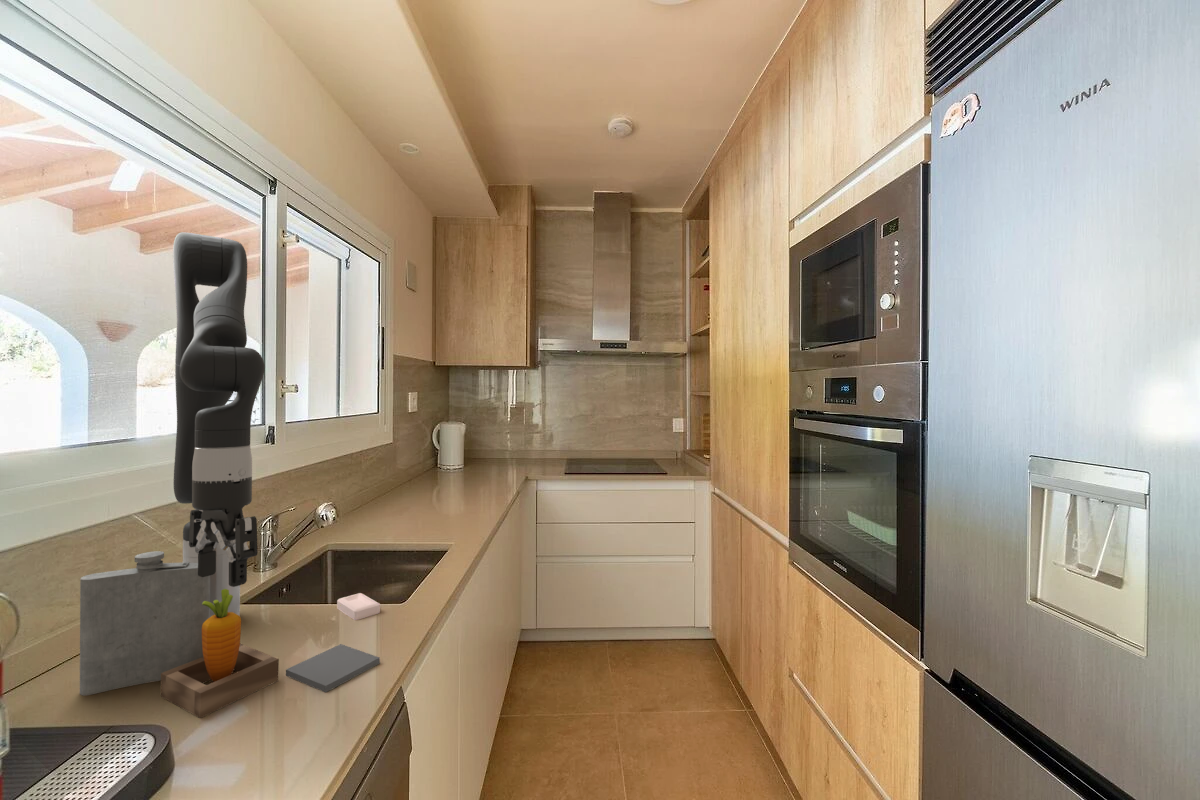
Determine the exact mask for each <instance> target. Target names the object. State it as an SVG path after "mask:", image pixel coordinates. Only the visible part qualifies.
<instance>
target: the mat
mask: <svg viewBox="0 0 1200 800" xmlns="http://www.w3.org/2000/svg"><path fill="white" fill-rule="evenodd" d="M380 663H381V659H380V657H379V656H377V655H374V654H371V653H368V652H365V651H363V650H360V649H357V648H353V647H351V646H348V645H345V644H342V643H340V644H337V645H336V646H334V647H331V648H328V649H327V650H325V651H323V652H320V653H318V654H316V655H313V656H312V657H309V658H307V659H305V660H303V661H301V662H299V663H297V664H294V665H293V666H290V667H288V668H286V669H285V676H286V677H289V678H291V679H293V680H295V681H297V682H300V683H302V684H305V685H308V686H310V687H312V688H314V689H317V690H319V691H321V692H324V693H327V692H330V690H333V689H335V688H336V687H339V686H340V685H342V684H344V683H346V682H348V681H349V680H351V679H353V678H355V677H357V676H359V675H361V674H363V673H364V672H366V671H368V670H370V669H372V668H374V667H375V666H376V667H377V666H378V665H379V664H380Z"/></svg>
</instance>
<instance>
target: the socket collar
mask: <svg viewBox="0 0 1200 800" xmlns="http://www.w3.org/2000/svg"><path fill="white" fill-rule="evenodd" d="M233 671H236V672H234V673H232V674H231V675H229V676H227V677H225V678H222V679H220V680H218V681H215V682H213V681H212V680H211V678H210V676H209V674H208V672H207V669H206V665H205V661H204V657H202V658H199V659H196V660H194V661H191V662H189V663H186V664H183V665H181V666H178V667H176V668H173V669H170V670H168V671H165V672H163V673H161V680H160V697H161V698H162V699H165V700H166V701H168V702H170V703H172V704H174V705H175V706H178V707H179V708H181V709H183V710H184V711H186V712H189V713H191V714H192V715H194V716H196V717H198V718H199V719H202V718H203V717H205V716H207V715H209V714H212V713H214V712H215V711H218V710H220V709H222V708H224V707H226V706H228V705H231V704H233V703H235V702H237V701H239V700H241V699H243V698H245V697H247V696H250V695H251V694H254V693H256V692H258V691H260V690H262V689H264V688H266V687H268V686H271V685H272V684H274V683H276V682H279V658H277V657H275V656H272V655H270V654H267V653H265V652H262V651H260V650H257V649H256V648H252V647H250V646H247V645H245V644H243V643H240V647H239V652H238V656H237V660H236V664H235V667H234V669H233ZM209 681H212V682H211V683H209V684H204V683H207V682H209Z"/></svg>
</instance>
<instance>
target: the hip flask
mask: <svg viewBox="0 0 1200 800" xmlns="http://www.w3.org/2000/svg"><path fill="white" fill-rule="evenodd" d="M164 558H165V552H164V551H159V550H158V551H157V550H156V551H147V552H142V553H138V554H136V555H134V562H135V563H136V567H134V568H125V569H117V570H110V571H104V572H96V573H91V574H86V575H84V576H81V577H80V580H79V581H80V583H79V586H80V588H79V589H80V590H79V595H80V597H79V602H80V603H79V695H81V696H91V695H95V694H100V693H103V692H108V691H111V690H112V691H113V690H117V689H120V688H121V689H122V688H125V687H126V688H128V687H131V686H136V685H143V684H147V683H152V682H153V683H154V682H159V681H160V682H161V673H163V672H165V671H168V670H170V669H173V668H176V667H178V666H181V665H183V664H186V663H189V662H191V661H194V660H196V659H199V658H202V657H204V656H203V649H202V625H203V623H204V622H205V621H206V620H207V619H208V618H209V607H207V606H205V605H202V603H203V602H204V601H208V602H210V576H206V577H200V576H198V563H190V562H183V561H181V562H164V561H163V560H162V559H164Z"/></svg>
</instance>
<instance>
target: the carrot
mask: <svg viewBox="0 0 1200 800" xmlns="http://www.w3.org/2000/svg"><path fill="white" fill-rule="evenodd" d="M221 594H222V602H219V601H218V600H214V601H213V602H214V605H215V606H214V605H213V604H212V603H211V602H208V601H204V602H203V603H202V605H205V606H207V607H209V608H210V609H211V610H212V611H213V612H214V614H215V615H213V616H211V617H210V618H208V619H207V620H206V621H205V622H204V623H203V625H202V649H203V656H204V661H205V665H206V669H207V672H208V674H209V676H210V678H211V680H210V681H212V683H213V682H215V681H218V680H220V679H222V678H225V677H227V676H229V675H232V674H233V671H234V670H233V669H234V667H235V664H236V660H237V656H238V652H239V647H240V644H241V636H242V635H241V634H242V633H241V631H242V618H241V616H238V615H237V614H235V613H233V612H228V607H229V605H230V603H231V601H232V598H233V596H232V595H229V590H228V589H223V590H221Z"/></svg>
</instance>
